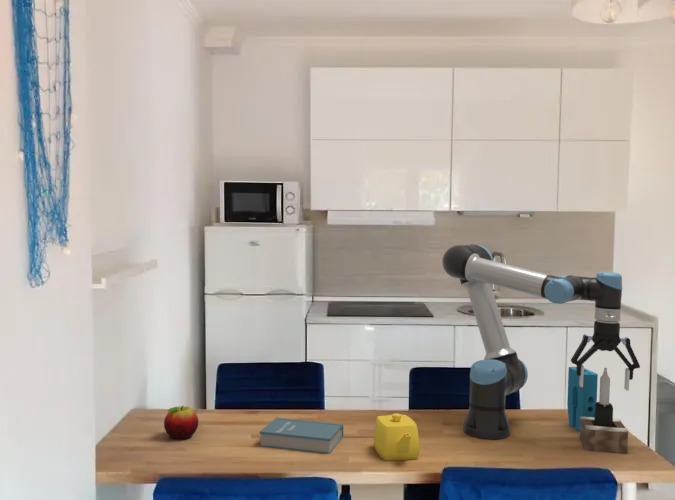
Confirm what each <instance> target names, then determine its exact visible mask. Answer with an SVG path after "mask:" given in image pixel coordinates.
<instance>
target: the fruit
mask: <svg viewBox="0 0 675 500" xmlns="http://www.w3.org/2000/svg"><path fill="white" fill-rule="evenodd" d="M163 427H164V430H165V433H167V435H168V436H169V437H170V438H171V439H175V440H184V439H188V438H191V437H192V436H193V435H194V434H196V431H197V429H198V427H199V417H198V415H197V413H196V412H195V410H194V409H193V408H192V407H190V406H184V405H181V406H174V407H170V408H169V409H168V410H167V414H166V415H165V417H164V421H163Z"/></svg>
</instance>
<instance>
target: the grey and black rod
mask: <svg viewBox="0 0 675 500" xmlns="http://www.w3.org/2000/svg"><path fill="white" fill-rule="evenodd" d="M610 388H611V378H610V376H609V374H608V368H607V367H604V368H603V372H602V375H601V376H600V379H599V395H598V396H599V397H598V398H599V400H598V401H597V403H596V404H595V423H594V426H603V427H612V425H613V419H614V417H613V416H614V406H613V404H612V403H610V395H611V394H610V392H611V391H610V390H611V389H610Z"/></svg>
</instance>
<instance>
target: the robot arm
mask: <svg viewBox="0 0 675 500" xmlns="http://www.w3.org/2000/svg"><path fill="white" fill-rule="evenodd" d="M442 267H443V270H444V271H445V273H447V275H449V277H451V278H455V279H459V281H460V285H461V286H462V287H463V288H465V289H466V291H467V293H468V297H469V301H470V303H471V304H470V305H471V307H472V311H473V314H474V317H475V320H476V323H477V326H478V331H479V333H480V337H481V341H482V344H483V348H484V351H485V356H484V358H483V359H480V360H476V361H475V362H472V364H471V366H470V372H469V407H468V410H467V414H466V416H465V419H464V422H463V432H464V433H465V434H466V435H469V436H472V437H474V438H480V439H486V440H498V439H505V438H508V437H510V435H511V427H510V423H509V420H508V419H509V418H508V416H507V413H506V396H509V395H510V394H513V393H517V392H518V391H520V390H521V389H522V388H523V387H524V386H525V384H526V383H527V380H528V376H529V373H528V368H527V366H526V364H525V362H523V361H522V360H521V359H520V358H519V357H518V354H517V351H516V350H515V349H513V348H511V346H510V343H509V339H508V337H507V334H506V333H507V332H506V330H505V326H504V322H503V319H502V317H501V313H500V309H499V307H498V303H497V300H496V296H495V294H494V290H493V286H492V285H495V286H498V287H502V288H505V289H510V290H513V291H518V292H521V293H524V294H527V295H528V294H529V295H532V296H535V297H539V298H544V299H545V300H548V301H549V302H551V303H553V304H558V305H561V304H565V303H568V302H572V301H573V302H575V301H578V300H579V301H590V302H594V303H595V305H594V320H595V321H593V334H592V336H591V335H587V334H583V335H582V338H581V342H580V344H578V345H579V346H578V347H577V349H575V352H574V354H573V355H572V357H571V358H570V362H571V364H573V365H576V367H577V368H576V374H577V376H580V377H579V385H580V387H583V376H584V368H585V367H584V363H585V362H587V361H588V359H590V358H591V357H592V356H593V355H594V354H595V353H596V352H597V351H598V350H599V351H600V352H601V351H602V352H606V351H607V352H612V351H614V352H615V353H616V354H617V355H618V356H619V358H620V359H621V360H622V361H623V363H624V364H625V365H626V366H627V367H625V369H624V386H623V389H624V390H625V391H627V392H628V391H629V390H630V381H631V380H633V379H634V371H635V369H640V368H641V365H640V363H639V361H638V358H637V356H636V354H635V353H634V352H635V351H634V350H633V347H632V346H631V339H630V338H629V337H628V336H625V337H620V332H621V331H620V329H621V328H620V327H621V324H620V323H619V322H620V321H621V307H622V295H623V294H622V293H623V276H622V275H621V274H620V273H618V272H613V271H612V272H611V271H609V272H608V271H607V272H606V271H599V272H597V273H596V276H595V277H588V276H578V275H568V274H567V275H563V274H562V275H560V276H556V275H552V274H551V275H550V274H548V273H544V272H539V271H534V270H532V269H528V268H523V267H520V266H515V265H512V264H508V263H507V264H506V263H503V262H499V261H494V258H493V256H492V254H491V252H490V250H489V249H488V248H486V247H485V246H483V245H478V244H473V243H472V244H463V245H462V244H460V245H453V246H451V247H449V248H448V249H447V250H446V251H445V252H444V255H443V257H442ZM590 342H592V343H594V344H593V345H591V347H590V348H589V349H587V351H586V352H584V354H583V355H582V353H583V351H584V350H585V348H586V346H587V344H588V343H590ZM621 343H622V345H623V346H625V349H626V351H627V353H628V355H629V357H630V359H631V361H632V363H631V362H630V361H629V360H628V359H627V357H626V356H625V354H623V351H621V349H619V347H618V346H619V345H620V344H621ZM581 355H582V356H581ZM580 356H581V357H580Z"/></svg>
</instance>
